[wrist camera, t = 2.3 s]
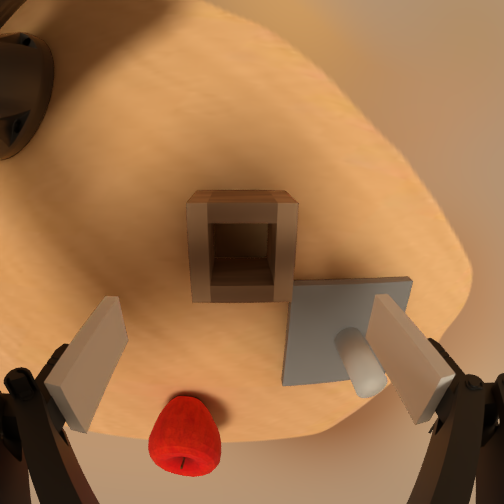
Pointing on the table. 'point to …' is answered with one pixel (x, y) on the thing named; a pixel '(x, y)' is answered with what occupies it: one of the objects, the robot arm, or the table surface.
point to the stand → (337, 332)
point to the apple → (185, 438)
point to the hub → (242, 269)
